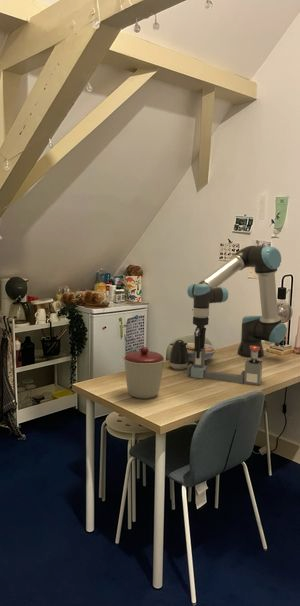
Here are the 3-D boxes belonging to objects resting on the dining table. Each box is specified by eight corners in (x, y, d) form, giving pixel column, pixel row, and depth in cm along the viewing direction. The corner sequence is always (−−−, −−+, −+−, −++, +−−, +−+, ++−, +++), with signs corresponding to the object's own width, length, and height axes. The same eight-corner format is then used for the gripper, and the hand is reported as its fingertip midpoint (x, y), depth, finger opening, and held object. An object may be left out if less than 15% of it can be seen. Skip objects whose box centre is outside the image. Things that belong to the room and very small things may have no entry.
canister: (114, 392, 195) (114, 345, 192) (147, 385, 206) (148, 340, 203) (138, 405, 181) (139, 354, 178) (172, 396, 192) (174, 348, 189)
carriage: (194, 373, 225) (195, 346, 223) (206, 374, 223) (207, 348, 221) (190, 377, 218) (191, 349, 216) (202, 378, 216) (203, 351, 214)
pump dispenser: (178, 372, 226) (179, 343, 224) (164, 367, 234) (165, 339, 232) (192, 368, 233) (194, 340, 231) (178, 364, 241) (179, 336, 238)
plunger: (249, 359, 215) (250, 344, 214) (259, 361, 213) (260, 345, 212) (248, 362, 211) (249, 347, 210) (258, 363, 209) (259, 348, 208)
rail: (190, 373, 225) (190, 363, 224) (244, 380, 215) (244, 370, 214) (187, 376, 220) (187, 366, 219) (242, 384, 210) (243, 373, 210)
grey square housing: (246, 379, 218) (247, 359, 217) (261, 380, 215) (262, 360, 214) (244, 383, 211) (245, 362, 210) (259, 385, 209) (260, 364, 207)
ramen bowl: (226, 362, 246) (227, 347, 245) (197, 369, 232) (198, 354, 231) (193, 352, 265) (194, 339, 264) (165, 358, 251) (165, 344, 249)
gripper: (197, 313, 225) (195, 358, 228) (188, 318, 210) (187, 366, 214) (212, 314, 222) (210, 360, 225) (204, 319, 208) (202, 368, 211)
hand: (198, 363), depth 220 cm, fingers closed on carriage, 2 cm apart
